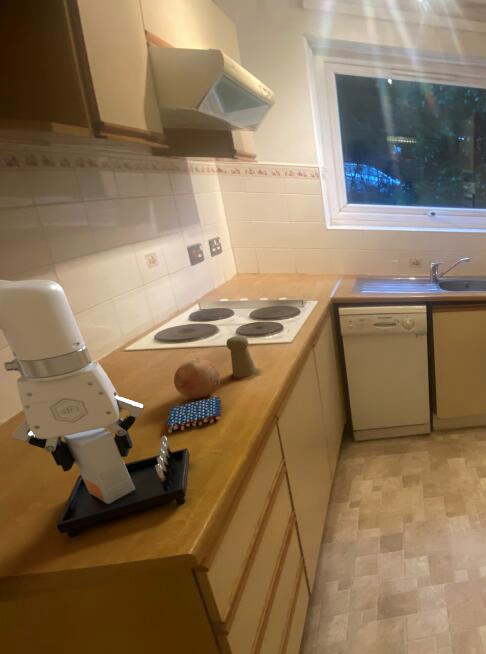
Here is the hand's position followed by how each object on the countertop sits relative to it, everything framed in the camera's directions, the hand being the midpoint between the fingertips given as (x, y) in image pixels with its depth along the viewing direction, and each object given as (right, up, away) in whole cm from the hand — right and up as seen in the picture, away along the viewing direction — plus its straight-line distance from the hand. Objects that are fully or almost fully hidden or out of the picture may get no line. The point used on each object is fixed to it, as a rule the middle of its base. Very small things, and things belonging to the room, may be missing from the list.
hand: (98, 458), depth 73 cm
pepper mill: (-8, +12, +53) cm, 54 cm away
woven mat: (-5, +2, +30) cm, 30 cm away
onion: (-11, +6, +40) cm, 42 cm away
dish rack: (+2, -8, +5) cm, 10 cm away
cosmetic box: (0, -7, +3) cm, 7 cm away
